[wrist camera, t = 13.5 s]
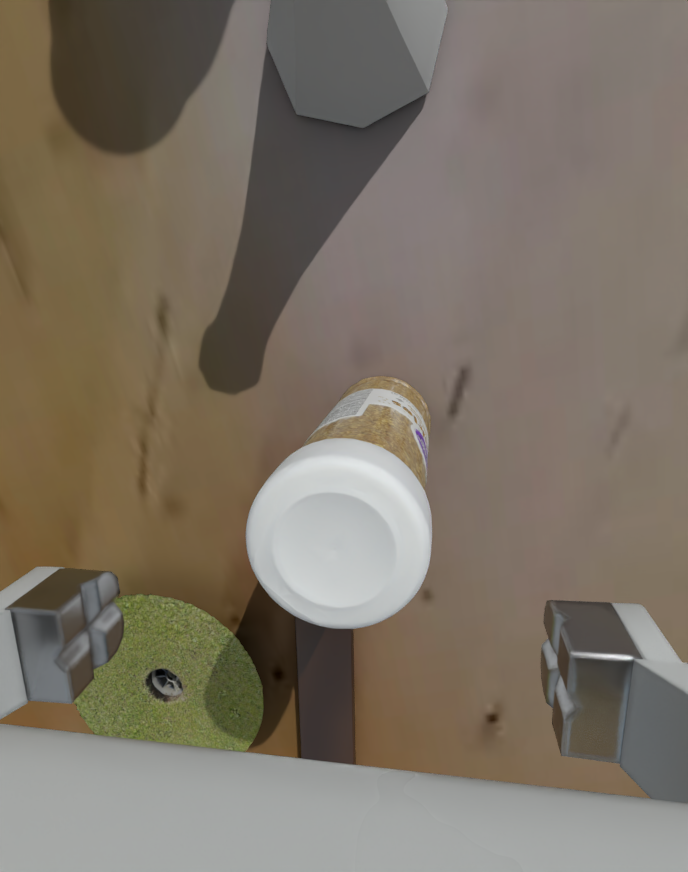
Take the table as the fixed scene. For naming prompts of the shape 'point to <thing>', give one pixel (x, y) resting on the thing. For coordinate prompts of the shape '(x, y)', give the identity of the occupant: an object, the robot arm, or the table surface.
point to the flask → (355, 55)
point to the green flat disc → (175, 680)
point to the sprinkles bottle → (349, 511)
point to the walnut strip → (326, 692)
